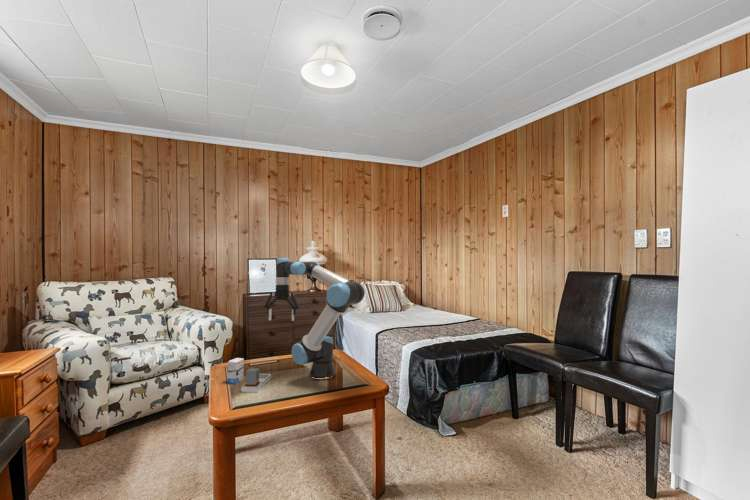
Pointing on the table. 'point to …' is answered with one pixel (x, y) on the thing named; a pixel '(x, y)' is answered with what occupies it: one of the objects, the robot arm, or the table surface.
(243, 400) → the table surface
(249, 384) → the grey rectangular block
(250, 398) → the table surface
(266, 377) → the white piece
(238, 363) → the ink box
